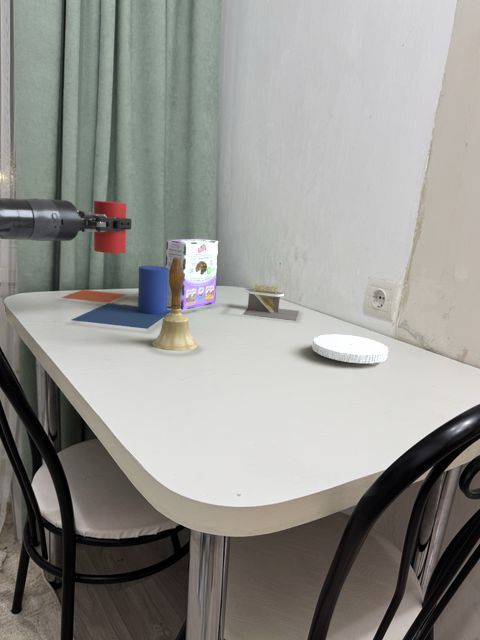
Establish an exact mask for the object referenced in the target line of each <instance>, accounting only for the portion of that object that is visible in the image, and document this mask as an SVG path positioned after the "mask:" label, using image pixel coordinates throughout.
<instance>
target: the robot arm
mask: <svg viewBox="0 0 480 640" xmlns="http://www.w3.org/2000/svg"><path fill="white" fill-rule="evenodd" d="M95 216H96V217H95ZM95 228H96V229H95ZM121 229H124V230H126V231H127V230H128V231H129V230H131V229H132V219H131V218H127V217H126V218H118V217H117V218H116V217H106V216H105V215H104V214H95V213H94V212H93V213H92V212H90V211H84V210H78V208H77V207H76V205H74V204H73V203H72V202H71V201H69V200H64V199H48V198H11V197H0V240H27V241H28V240H29V241H35V242H70V241H72V240H74V239H75V238H76V237H77V235H78V234H79V232H81V233H92V232H93V233H94V232H105V231H116V232H119V231H121Z"/></svg>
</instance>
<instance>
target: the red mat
mask: <svg viewBox="0 0 480 640" xmlns="http://www.w3.org/2000/svg"><path fill="white" fill-rule="evenodd" d="M127 295H128V294H127V293H118V292H117V293H116V292H109V291H108V292H107V291H98V290H89V289H81V290H78V291H75V292H72V293H70V294H66V295H64V296H61V297H60V298H62V299H72V300H80V301H88V302H97V303H105V304H107V303H113V302H114V301H116V300H119V299H121V298H123V297H125V296H127Z"/></svg>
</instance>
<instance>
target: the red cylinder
mask: <svg viewBox="0 0 480 640" xmlns="http://www.w3.org/2000/svg"><path fill="white" fill-rule="evenodd" d="M93 213H95V214H104V215H105V216H106V217H116V218H117V217H118V218H127V203H125V202H115V201H105V200H94V201H93ZM95 217H96V216H95ZM95 229H96V228H95ZM126 250H127V230H124V229H121V231H119V232H116V231H105V232H94V231H93V251H95V252H98V253H104V254H105V253H106V254H124V253H126Z"/></svg>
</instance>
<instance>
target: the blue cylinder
mask: <svg viewBox="0 0 480 640" xmlns="http://www.w3.org/2000/svg"><path fill="white" fill-rule="evenodd" d="M167 285H168V268H166V266H165V267H164V266H159V265H140V266H138V290H137V291H138V293H137V294H138V295H137V298H138V299H137V302H138V303H137V306H138V311H139V312H141V313H145V314H164V313H166V312H167V310H168V309H167V308H168V307H167Z"/></svg>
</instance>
